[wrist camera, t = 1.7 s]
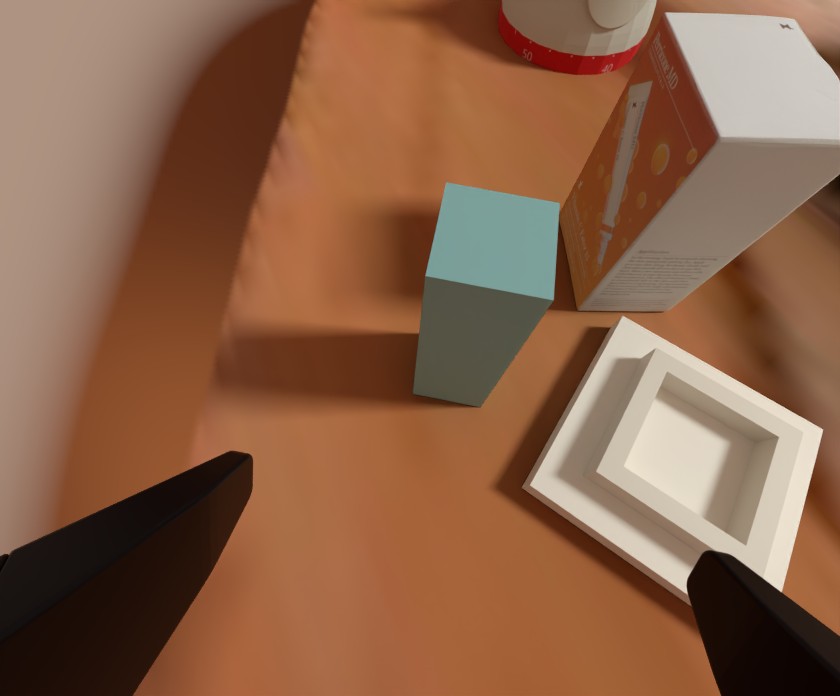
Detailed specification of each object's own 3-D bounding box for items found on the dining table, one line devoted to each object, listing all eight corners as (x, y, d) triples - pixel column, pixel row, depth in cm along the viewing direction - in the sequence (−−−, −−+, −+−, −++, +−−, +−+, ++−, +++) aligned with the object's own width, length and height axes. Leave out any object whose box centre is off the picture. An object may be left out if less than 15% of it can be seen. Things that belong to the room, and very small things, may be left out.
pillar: (480, 407, 23) (553, 300, 12) (412, 393, 23) (425, 275, 12) (488, 346, 25) (559, 202, 14) (425, 333, 25) (446, 182, 14)
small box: (555, 217, 29) (661, 6, 17) (639, 219, 30) (799, 13, 18) (574, 313, 26) (721, 135, 14) (668, 315, 26) (889, 141, 15)
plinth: (740, 640, 19) (797, 660, 16) (521, 488, 21) (539, 482, 19) (798, 435, 23) (851, 423, 21) (611, 327, 26) (636, 303, 23)
